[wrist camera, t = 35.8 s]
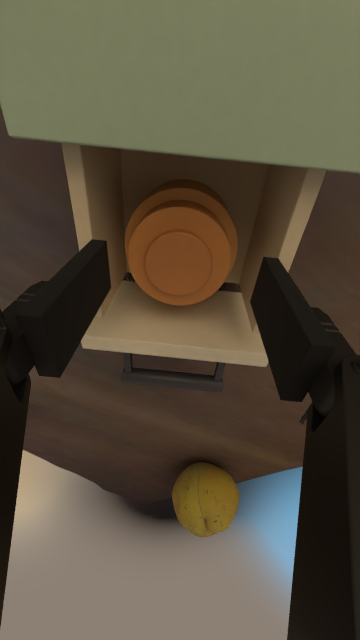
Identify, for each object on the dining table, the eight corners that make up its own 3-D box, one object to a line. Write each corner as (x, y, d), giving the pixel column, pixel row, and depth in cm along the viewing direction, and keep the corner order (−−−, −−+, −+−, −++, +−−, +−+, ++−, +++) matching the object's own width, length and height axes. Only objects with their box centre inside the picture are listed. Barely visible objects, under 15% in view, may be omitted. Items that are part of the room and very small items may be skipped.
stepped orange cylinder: (123, 255, 20) (100, 291, 15) (155, 157, 16) (137, 166, 11) (203, 290, 21) (204, 333, 17) (251, 209, 17) (271, 236, 12)
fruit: (160, 464, 46) (153, 533, 38) (204, 442, 41) (205, 518, 33) (203, 483, 50) (204, 548, 42) (249, 465, 44) (260, 537, 36)
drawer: (233, 353, 27) (243, 420, 21) (118, 342, 27) (94, 405, 21) (316, 71, 14) (417, 15, 7) (92, 47, 14) (2, -29, 7)
